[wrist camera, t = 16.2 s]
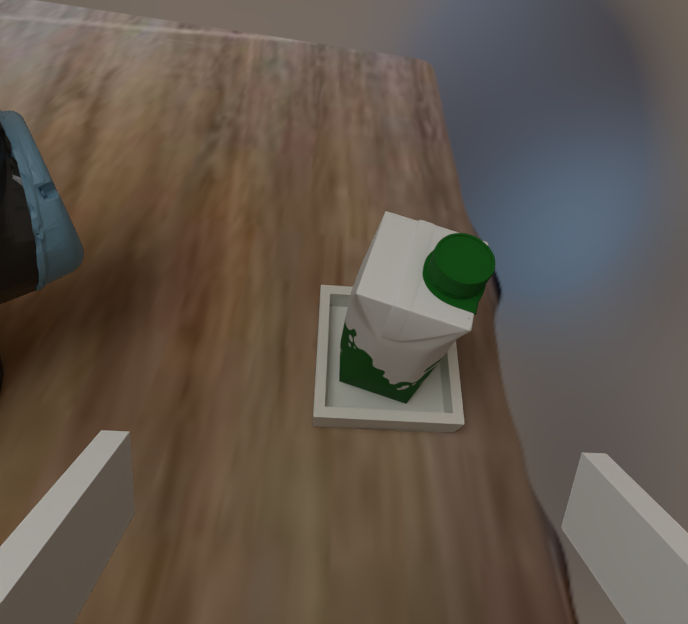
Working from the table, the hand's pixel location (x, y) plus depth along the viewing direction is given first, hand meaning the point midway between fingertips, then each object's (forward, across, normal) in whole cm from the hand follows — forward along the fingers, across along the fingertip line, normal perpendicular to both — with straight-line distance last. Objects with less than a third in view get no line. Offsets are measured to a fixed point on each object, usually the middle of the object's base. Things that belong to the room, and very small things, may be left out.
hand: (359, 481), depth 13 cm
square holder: (+32, +6, -10) cm, 34 cm away
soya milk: (+31, +6, -10) cm, 33 cm away
